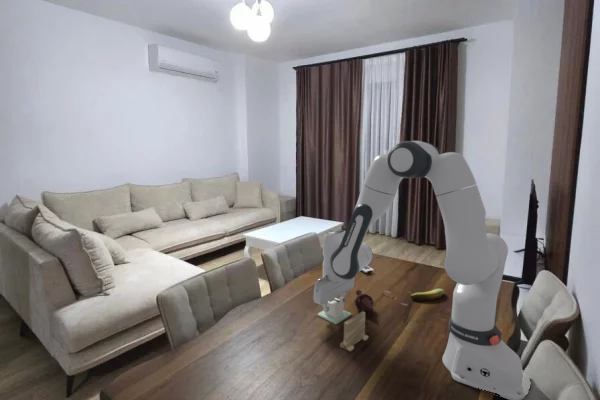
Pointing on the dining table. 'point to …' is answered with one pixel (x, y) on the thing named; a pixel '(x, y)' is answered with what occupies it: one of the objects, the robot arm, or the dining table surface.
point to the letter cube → (335, 307)
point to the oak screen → (354, 331)
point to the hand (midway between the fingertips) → (334, 306)
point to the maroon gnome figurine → (363, 302)
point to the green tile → (332, 319)
